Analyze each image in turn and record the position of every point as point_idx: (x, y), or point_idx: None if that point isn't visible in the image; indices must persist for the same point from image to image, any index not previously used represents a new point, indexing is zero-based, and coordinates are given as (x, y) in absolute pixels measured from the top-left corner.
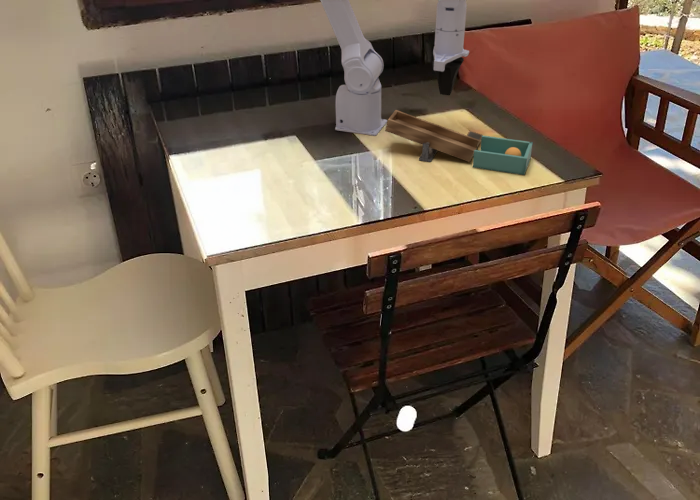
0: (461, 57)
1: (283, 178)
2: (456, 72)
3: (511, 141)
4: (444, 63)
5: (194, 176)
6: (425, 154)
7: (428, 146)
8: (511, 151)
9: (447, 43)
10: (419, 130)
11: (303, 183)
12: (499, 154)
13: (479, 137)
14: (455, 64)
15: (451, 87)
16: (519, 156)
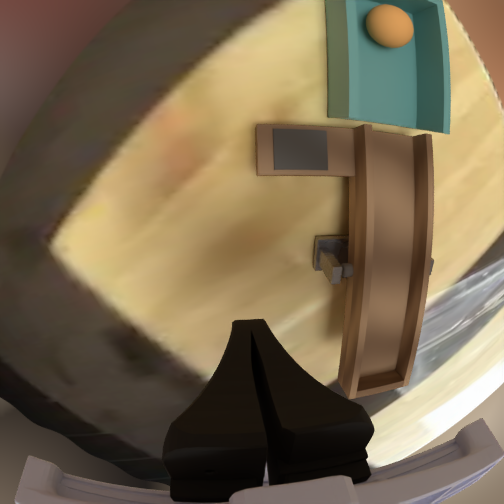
0: (170, 459)
1: (443, 392)
2: (275, 391)
3: (355, 22)
4: (494, 450)
5: (426, 440)
6: None
7: (431, 258)
8: (412, 29)
9: None
10: (422, 306)
11: (458, 370)
12: (448, 64)
13: (292, 131)
14: (329, 445)
15: (276, 339)
16: (440, 15)
